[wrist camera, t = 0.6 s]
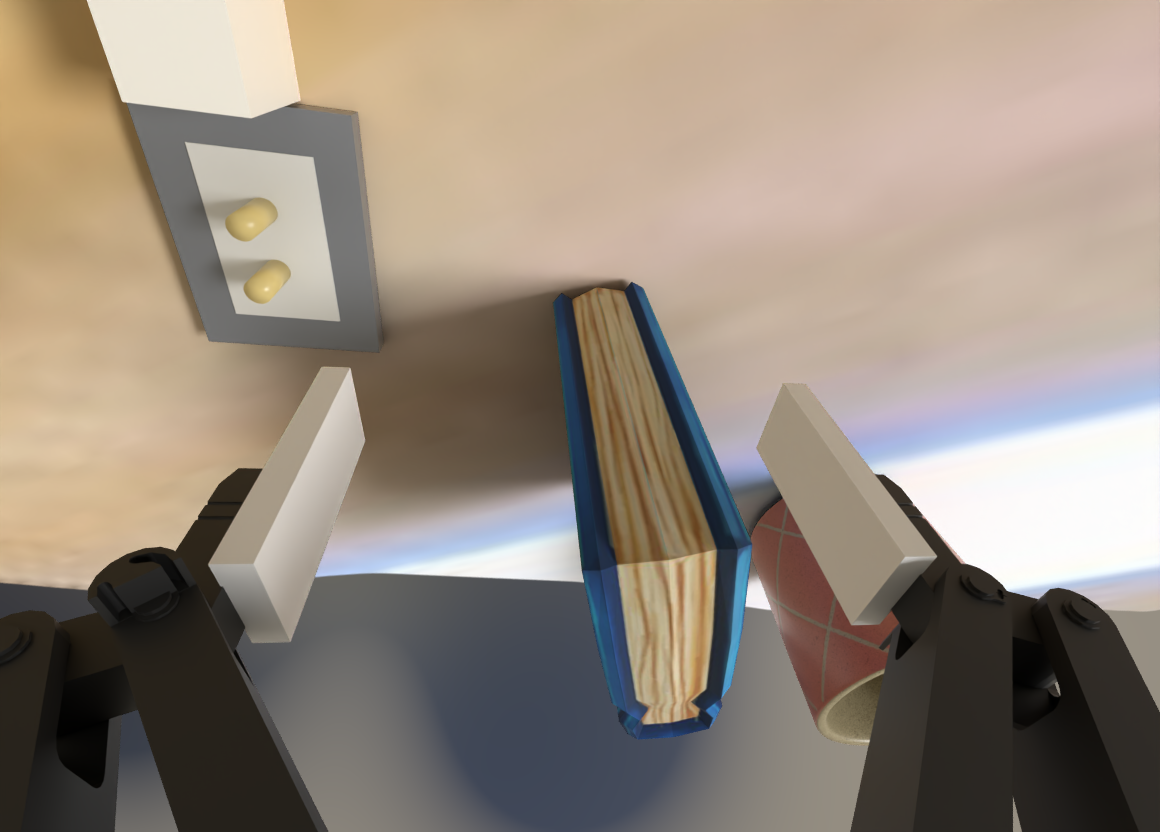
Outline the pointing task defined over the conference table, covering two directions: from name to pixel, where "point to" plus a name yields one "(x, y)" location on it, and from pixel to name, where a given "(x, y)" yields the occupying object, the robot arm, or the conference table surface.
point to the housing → (199, 54)
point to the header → (269, 222)
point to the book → (649, 518)
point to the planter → (821, 631)
